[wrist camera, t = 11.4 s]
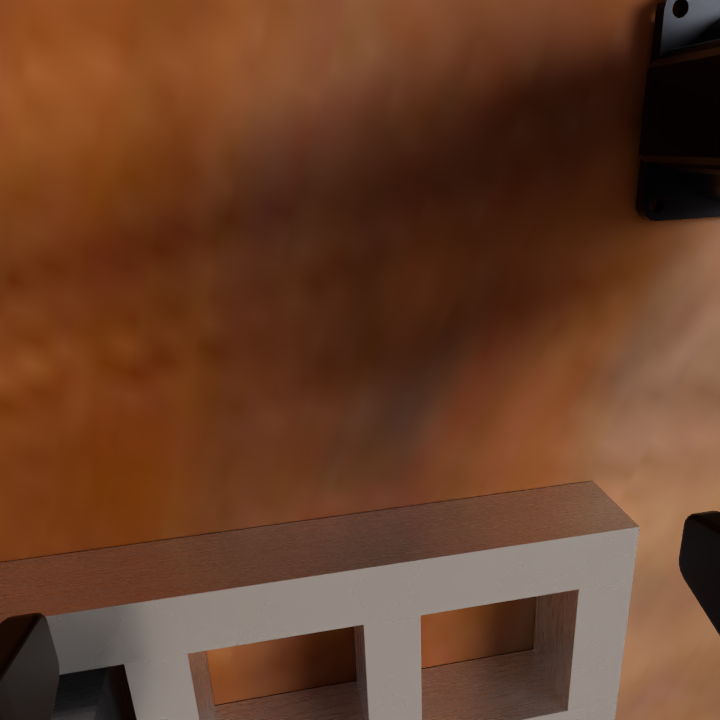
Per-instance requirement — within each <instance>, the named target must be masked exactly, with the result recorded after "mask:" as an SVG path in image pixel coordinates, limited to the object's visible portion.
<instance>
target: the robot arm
mask: <svg viewBox="0 0 720 720" xmlns="http://www.w3.org/2000/svg"><path fill="white" fill-rule="evenodd" d="M675 2H677V3H678V5H679V9H680V11H679V14H678V16H677V17H675V16H674V14H673V11H672V8H673V5H674V3H675ZM639 155H640V156H641V159H640V169H639V178H638V188H637V198H636V211H637V213H638V215H639V216H640V217H641V218H643V219H647V220H653V221H662V220H675V219H689V218H702V217H716V216H720V0H660V1H659V3H658V5H657V9H656V16H655V25H654V35H653V44H652V54H651V64H650V67H649V68H648V70H647V78H646V87H645V97H644V107H643V116H642V126H641V136H640V145H639ZM654 198H656V199H657V206H656V208H655V209H654V210H653V211H651V208H650V204H651V202H652V200H653V199H654ZM679 567H680V571H681V573H682V576H683V578H684V580H685V581H686V583H687V584H688V586H689V588H690V589H691V591H692V592H693V594H694V595H695V597H696V599H697V600H698V602H699V603H700V605H701V607H702V608H703V610H704V611H705V613H706V614H707V616H708V618H709V619H710V621H711V622H712V624H713V626H714V627H715V629H716V630H717V632H718V633H719V635H720V512H718V511H708V512H702V513H695V514H691V515H690V516H688V517H687V519H686V520H685V523H684V529H683V536H682V542H681V549H680V555H679ZM58 682H59V660H58V656H57V653H56V649H55V646H54V642H53V639H52V635H51V632H50V628H49V625H48V622H47V619H46V617H45V616H44V615H43V614H41V613H39V612H36V613H29V614H23V615H16V616H11V617H8V618H6V619H5V620H3V621H2V622H1V623H0V720H51V718H52V713H53V708H54V703H55V698H56V692H57V687H58Z"/></svg>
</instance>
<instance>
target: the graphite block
mask: <svg viewBox="0 0 720 720" xmlns="http://www.w3.org/2000/svg"><path fill="white" fill-rule="evenodd" d="M51 720H137V719H136V714H135V710H134V705H133V701H132V697H131V692H130V688H129V684H128V679H127V675H126V670H125V666H124V664H121V665H115V666H109V667H103V668H97V669H91V670H85V671H79V672H73V673H67V674H61V675H59V682H58V687H57V692H56V698H55V703H54V708H53V713H52V718H51Z"/></svg>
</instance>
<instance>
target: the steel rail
mask: <svg viewBox="0 0 720 720" xmlns="http://www.w3.org/2000/svg"><path fill="white" fill-rule="evenodd" d="M638 535H639V526H638V525H637V524H636V523H635V522H634V521H633V520H632V519H631V518H630V517H629V516H628V515H627V514H626V513H625V512H624V511H623V510H622V509H621V508H620V507H619V506H618V505H617V504H616V503H615V502H614V501H613V500H612V499H611V498H610V497H609V496H608V495H607V494H606V493H605V492H604V491H603V490H602V489H601V488H600V487H599V486H598V485H597V484H595V483H594V482H593V481H590V482H582V483H575V484H568V485H561V486H553V487H546V488H539V489H532V490H524V491H517V492H510V493H502V494H495V495H488V496H481V497H473V498H466V499H459V500H452V501H444V502H437V503H430V504H423V505H415V506H408V507H401V508H394V509H386V510H379V511H372V512H365V513H357V514H350V515H343V516H336V517H328V518H321V519H314V520H307V521H299V522H292V523H285V524H278V525H270V526H263V527H256V528H249V529H241V530H234V531H227V532H220V533H212V534H205V535H198V536H191V537H183V538H176V539H169V540H162V541H154V542H147V543H140V544H133V545H125V546H118V547H111V548H104V549H96V550H89V551H82V552H74V553H67V554H60V555H53V556H45V557H38V558H31V559H24V560H16V561H9V562H2V563H0V623H1V622H2V621H3V620H5V619H6V618H8V617H11V616H16V615H23V614H29V613H36V612H39V613H41V614H43V615H44V616H45V617H46V619H47V622H48V625H49V628H50V632H51V635H52V639H53V642H54V646H55V649H56V653H57V656H58V660H59V675H61V674H67V673H73V672H79V671H85V670H91V669H97V668H103V667H109V666H115V665H121V664H124V666H125V670H126V675H127V679H128V684H129V688H130V692H131V697H132V701H133V705H134V710H135V714H136V719H137V720H615V714H616V706H617V698H618V690H619V683H620V675H621V667H622V659H623V651H624V644H625V636H626V628H627V620H628V613H629V605H630V597H631V589H632V582H633V574H634V566H635V558H636V551H637V543H638ZM535 596H536V612H535V627H534V643H533V650H527V651H521V652H516V653H510V654H504V655H499V656H493V657H488V658H482V659H476V660H471V661H465V662H459V663H454V664H448V665H442V666H437V667H431V668H426V669H421V620H420V615H425V614H431V613H438V612H444V611H450V610H456V609H462V608H468V607H474V606H480V605H486V604H492V603H498V602H504V601H511V600H517V599H523V598H529V597H535ZM352 626H353V628H354V644H355V660H356V676H357V681H352V682H347V683H341V684H335V685H330V686H324V687H318V688H313V689H307V690H302V691H296V692H290V693H285V694H279V695H273V696H268V697H262V698H256V699H251V700H245V701H240V702H234V703H228V704H223V705H217V706H215V704H214V698H213V692H212V686H211V680H210V675H209V669H208V663H207V657H206V650H213V649H219V648H225V647H231V646H237V645H243V644H249V643H255V642H261V641H267V640H273V639H279V638H286V637H292V636H298V635H304V634H310V633H316V632H322V631H328V630H334V629H340V628H346V627H352Z"/></svg>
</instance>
